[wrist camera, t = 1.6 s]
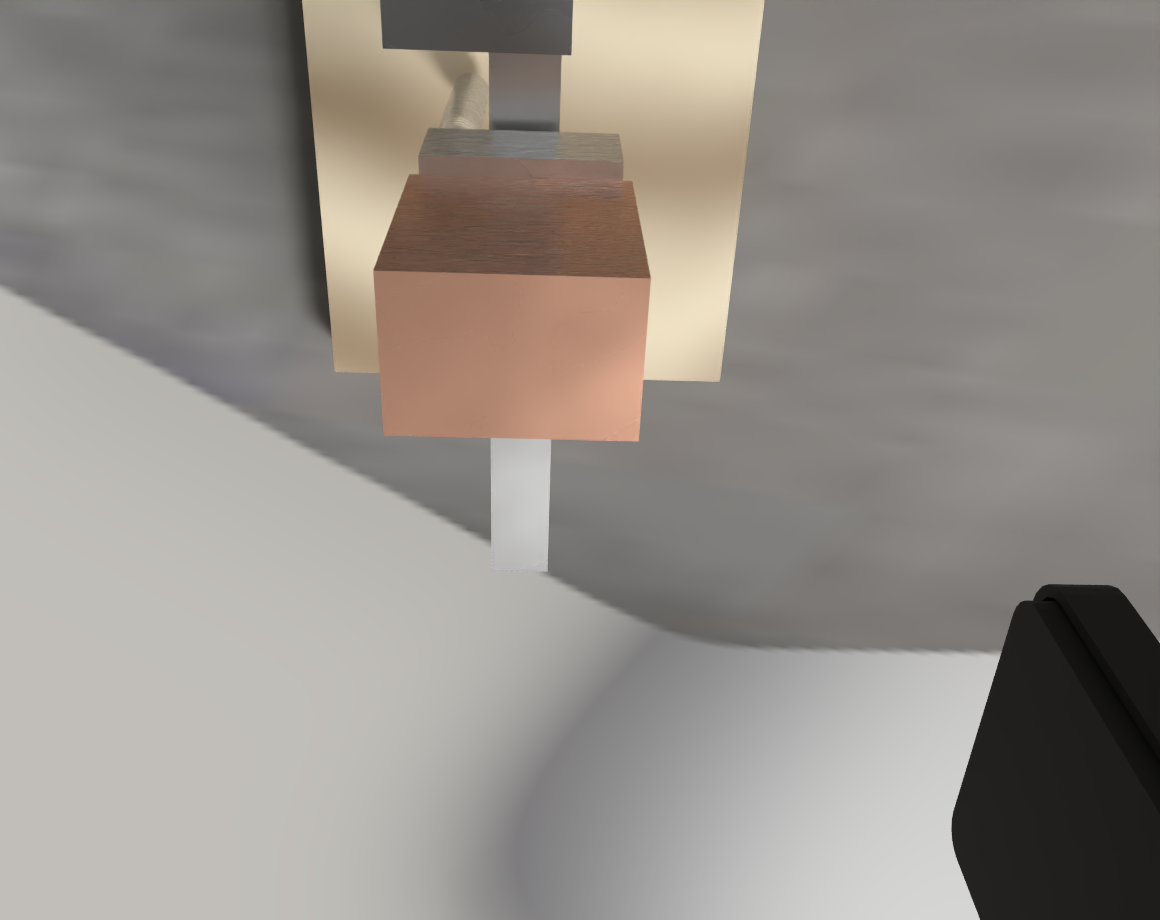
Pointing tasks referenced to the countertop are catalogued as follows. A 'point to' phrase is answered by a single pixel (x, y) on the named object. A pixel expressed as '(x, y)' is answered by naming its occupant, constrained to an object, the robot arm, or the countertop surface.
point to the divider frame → (516, 102)
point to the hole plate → (587, 105)
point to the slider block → (512, 285)
